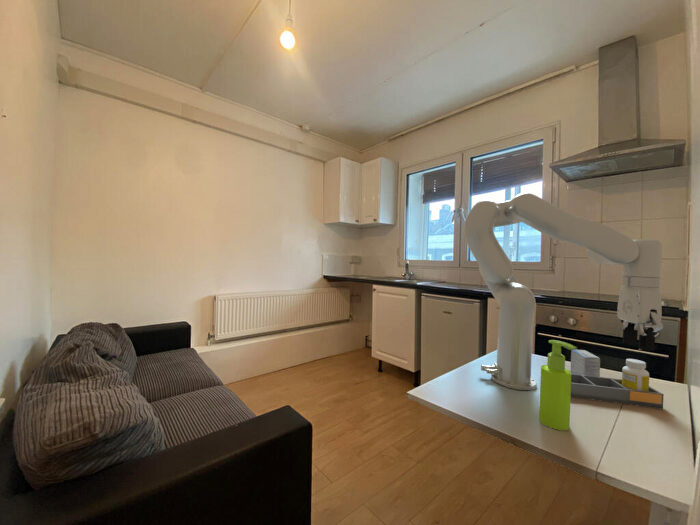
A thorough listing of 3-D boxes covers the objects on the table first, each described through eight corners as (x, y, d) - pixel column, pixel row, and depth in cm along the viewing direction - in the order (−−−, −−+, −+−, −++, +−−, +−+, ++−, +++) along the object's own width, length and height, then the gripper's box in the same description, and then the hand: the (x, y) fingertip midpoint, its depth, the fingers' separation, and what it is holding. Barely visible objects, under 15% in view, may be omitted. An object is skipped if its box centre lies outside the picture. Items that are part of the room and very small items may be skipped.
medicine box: (600, 385, 89) (601, 358, 88) (584, 383, 89) (585, 356, 89) (584, 374, 96) (585, 350, 96) (569, 373, 97) (570, 348, 97)
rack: (564, 396, 80) (564, 382, 80) (551, 384, 88) (552, 371, 88) (663, 409, 74) (664, 394, 74) (640, 394, 82) (641, 381, 82)
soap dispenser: (561, 435, 62) (564, 347, 62) (533, 418, 69) (536, 338, 69) (580, 431, 64) (583, 345, 64) (551, 414, 71) (554, 336, 70)
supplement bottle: (644, 393, 81) (645, 360, 80) (652, 401, 76) (653, 366, 76) (618, 388, 83) (620, 356, 83) (624, 396, 79) (626, 362, 79)
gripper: (605, 280, 88) (603, 336, 88) (647, 285, 71) (644, 355, 72) (634, 281, 86) (632, 339, 86) (684, 286, 70) (681, 358, 70)
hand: (637, 345), depth 79 cm, fingers open, 5 cm apart
